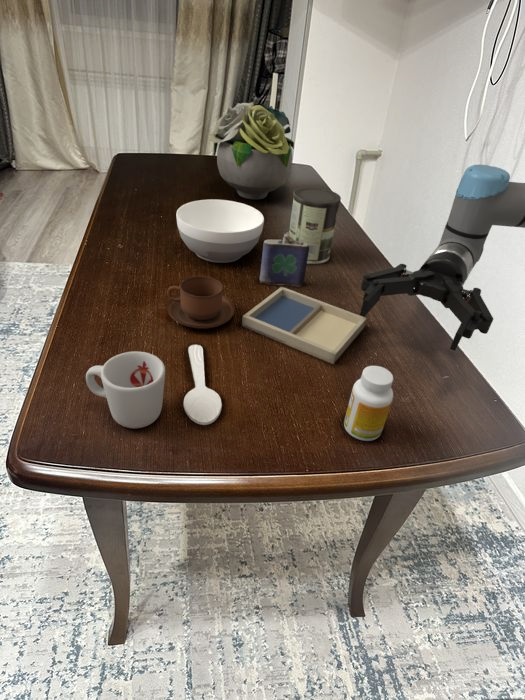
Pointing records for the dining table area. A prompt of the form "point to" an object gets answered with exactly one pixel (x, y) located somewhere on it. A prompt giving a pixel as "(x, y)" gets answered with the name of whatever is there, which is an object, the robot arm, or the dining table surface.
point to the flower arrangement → (253, 149)
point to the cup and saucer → (200, 303)
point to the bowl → (219, 229)
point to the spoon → (201, 392)
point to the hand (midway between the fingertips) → (407, 324)
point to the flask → (284, 261)
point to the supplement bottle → (369, 404)
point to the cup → (131, 387)
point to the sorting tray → (305, 324)
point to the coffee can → (314, 221)
